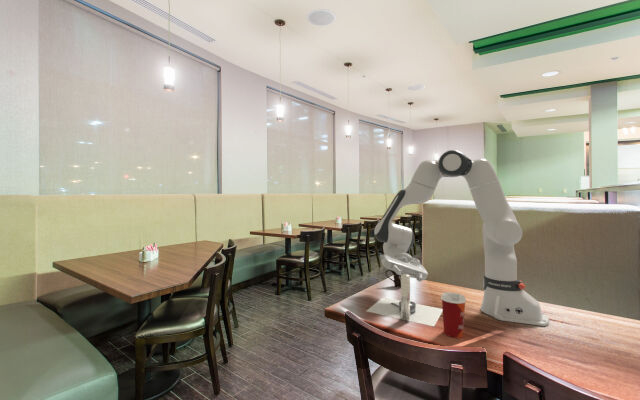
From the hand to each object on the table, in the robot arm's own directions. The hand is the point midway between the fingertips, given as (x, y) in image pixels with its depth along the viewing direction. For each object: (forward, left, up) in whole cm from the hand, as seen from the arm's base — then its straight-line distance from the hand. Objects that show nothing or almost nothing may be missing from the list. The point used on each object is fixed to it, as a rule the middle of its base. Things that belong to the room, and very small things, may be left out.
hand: (410, 276), depth 117 cm
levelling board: (+2, +1, -15) cm, 15 cm away
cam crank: (+1, +3, -13) cm, 14 cm away
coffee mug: (+15, -33, -15) cm, 39 cm away
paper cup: (-18, +12, -15) cm, 26 cm away
